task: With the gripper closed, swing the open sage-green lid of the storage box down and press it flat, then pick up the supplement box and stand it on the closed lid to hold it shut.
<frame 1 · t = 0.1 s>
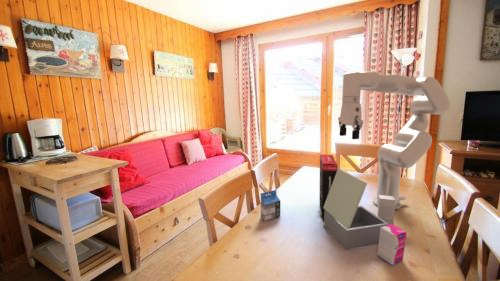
hand: (348, 137, 112), 37 cm above the table, tool pointing down, fingers open, 9 cm apart
supplement box: (389, 259, 83), on the table
graphics card box: (326, 212, 117), on the table
skincare box: (384, 222, 107), on the table
storage box: (353, 234, 98), on the table
box lid: (343, 196, 94), point 17 cm above the table, hinge at 70.0°
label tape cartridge: (270, 217, 114), on the table
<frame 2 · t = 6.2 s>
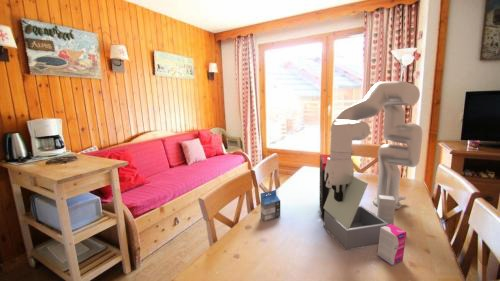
hand: (338, 200, 94), 16 cm above the table, tool pointing down, fingers closed
box lid: (343, 196, 94), point 17 cm above the table, hinge at 68.9°, touching gripper
everything else where it was.
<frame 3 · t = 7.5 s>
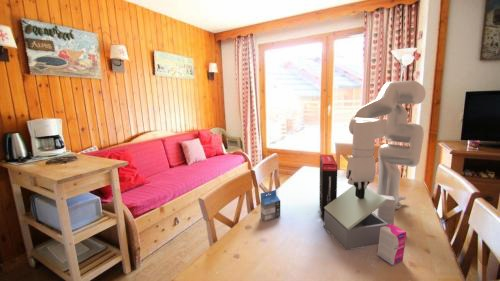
hand: (359, 197, 95), 16 cm above the table, tool pointing down, fingers closed
box lid: (353, 204, 95), point 13 cm above the table, hinge at 32.0°
everything else where it was.
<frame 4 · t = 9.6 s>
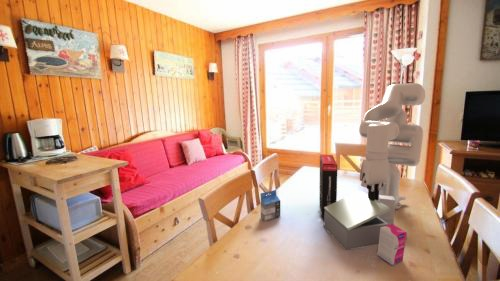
hand: (373, 199, 97), 15 cm above the table, tool pointing down, fingers closed
box lid: (355, 208, 96), point 11 cm above the table, hinge at 18.6°, touching gripper
everything else where it was.
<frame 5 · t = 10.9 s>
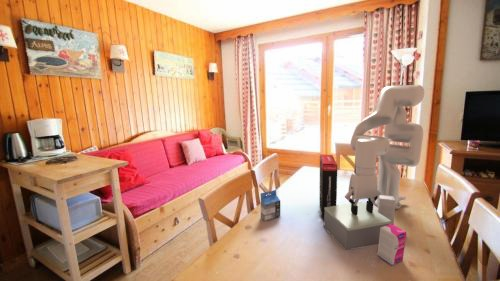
hand: (361, 212, 97), 10 cm above the table, tool pointing down, fingers open, 6 cm apart
box lid: (355, 214, 97), point 9 cm above the table, hinge at 1.3°, touching gripper
everything else where it was.
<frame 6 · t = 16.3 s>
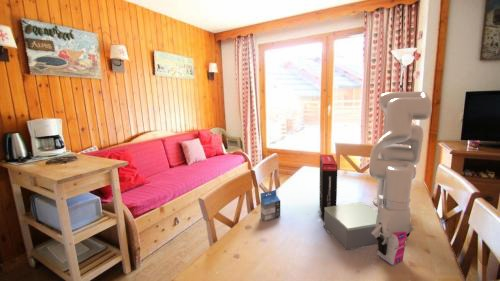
hand: (390, 250, 83), 3 cm above the table, tool pointing down, fingers closed on supplement box, 6 cm apart
supplement box: (390, 259, 83), on the table, touching gripper
box lid: (355, 214, 97), point 9 cm above the table, hinge at 1.2°
everything else where it was.
when the fingers open (13 cm above the table, at t = 22.0 s): supplement box drops 1 cm, resting on box lid.
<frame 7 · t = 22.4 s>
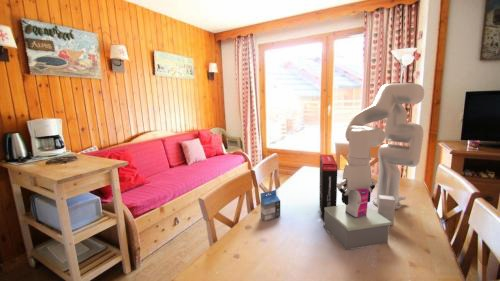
hand: (355, 202, 95), 14 cm above the table, tool pointing down, fingers open, 9 cm apart
supplement box: (355, 214, 97), point 9 cm above the table, touching box lid
box lid: (355, 215, 97), point 8 cm above the table, hinge at -0.1°, touching supplement box
everything else where it was.
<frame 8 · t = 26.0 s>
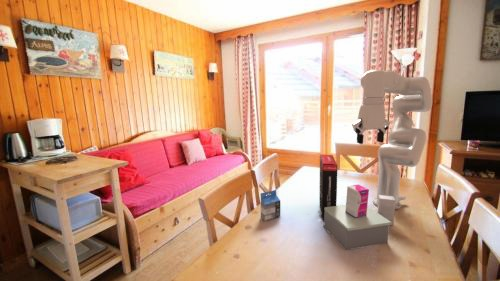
hand: (370, 142, 101), 36 cm above the table, tool pointing down, fingers open, 9 cm apart
nothing on the table moved.
at the end: box lid at +0° (first picture: +70°); supplement box inside the target area on the storage box (0.5 cm from its centre), point 8.8 cm above the storage box's base; supplement box tilted 0° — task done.
